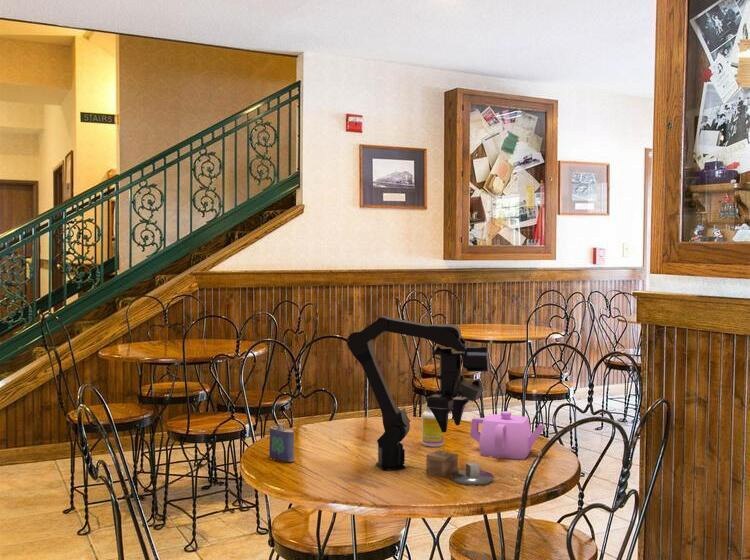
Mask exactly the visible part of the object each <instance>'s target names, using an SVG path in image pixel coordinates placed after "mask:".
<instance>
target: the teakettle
mask: <svg viewBox="0 0 750 560" xmlns="http://www.w3.org/2000/svg"><path fill="white" fill-rule="evenodd" d="M480 424H482V425H481V429H480V430H479V426H480ZM470 425H471V426H470V435H469V437H470V438H471V439H474V440H475V441H476V442H478V446H479V447H478V448H479V452H480V456H482V455H484V456H483V457H488V456H492V457H491V458H496V457H499V458H498V459H505V458H509V459H508V460H519V459H523V460H526V459H527V457H528V456H529V455H530V453H531V449H532V447H533V445H534V444H535V443H536V442H537V440H538V438H539V437H540V436H541V434H542V432H543V431H544V430H545V428H546V425H545V424H542V423H539V424H538V426H537V427H536V428H535V430H534V431H533V432H532V430H531V424H530V419H529V417H528V416H522V415H512V412H511V411H508V410H507V411H506V410H505V411H504V410H502V411H500V414H499V413H497V414H496V413H495V414H493V413H491V414H489V415H487V416H486V417H473V418H472V419H471V424H470ZM479 431H480V432H479Z"/></svg>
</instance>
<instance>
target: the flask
mask: <svg viewBox="0 0 750 560" xmlns="http://www.w3.org/2000/svg"><path fill="white" fill-rule="evenodd" d="M284 426H285V423H284V422H278V423H277V425H273V426H270V427H269V457H270V458H272V459H275V460H279V461H278V462H280V461H283V462H282V463H284V462H292V463H294V462H295V445H294V444H295V442H294V441H295V439H294V438H295V431H294V430H291V429H287V428H285V427H284ZM269 457H268V458H269ZM272 459H271V460H272ZM275 460H274V461H275ZM293 461H294V462H293Z"/></svg>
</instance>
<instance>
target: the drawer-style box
mask: <svg viewBox="0 0 750 560" xmlns="http://www.w3.org/2000/svg"><path fill="white" fill-rule="evenodd" d="M458 457H459V455H458V453H454V452H450V451H446V450H440V449H439V450H436V451H433V452H430V453H428V454H426V474H428V475H431V476H432V475H433V476H436V477H442V478H447V477H451V474H452V473H453V472H455V471H459V470H458V469H459V465H458V464H459V463H458V462H459V461H458Z"/></svg>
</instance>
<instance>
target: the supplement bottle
mask: <svg viewBox="0 0 750 560" xmlns="http://www.w3.org/2000/svg"><path fill="white" fill-rule="evenodd" d="M421 415H422V417H421V420H422V421H421V424H422V426H421V427H422V429H421V431H422V433H421V435H422V438H421V440H422V441H421V443H422V444H423V446H425V447H433V448H438V447H442V446H443V445H444V444H445V443H444V441H445V440H444V439H445V437H444V436H445V435H444V434H445V432H442V431H441V429H440V426H439V424H438V422H437V420H436V418H435V416H434V415H433V413H432V411H431V410H430V409H429V407H427V402H425V410H424V411H423V412H422V414H421Z"/></svg>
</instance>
